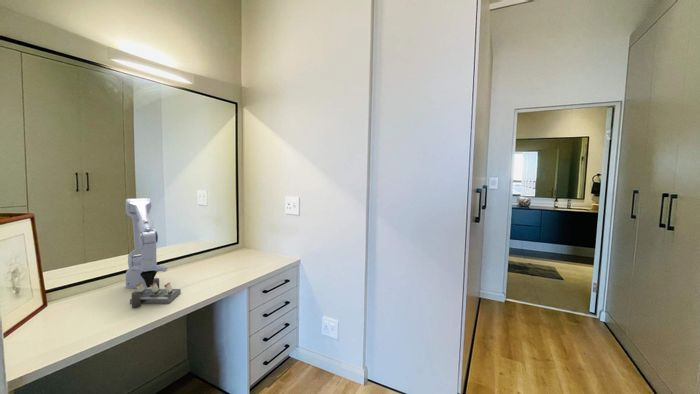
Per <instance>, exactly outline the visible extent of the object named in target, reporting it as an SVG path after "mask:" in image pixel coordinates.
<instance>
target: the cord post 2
mask: <svg viewBox="0 0 700 394" xmlns="http://www.w3.org/2000/svg"><path fill="white" fill-rule="evenodd" d="M155 282H156V284H157V286H158V288H159V289H160V278H159V277H154V280H153V283H155Z"/></svg>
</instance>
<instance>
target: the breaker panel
mask: <svg viewBox="0 0 700 394" xmlns="http://www.w3.org/2000/svg"><path fill="white" fill-rule="evenodd" d="M172 289H173V291H172V292H171V293H170V294H168V293H167V291H166V289H165V288H159V291H158V292H157V293H156V294H154V293H153V291H152V289H151V288H145V291H144V292H143V293H141V294H140V304H141V305H169V304H170V303H171V302H173V300H175V299H176V298H177V297H178V296H179V295H181V292H182V291H181V288H172ZM129 304H130V305H132V297H131V298H130V299H129Z"/></svg>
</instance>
